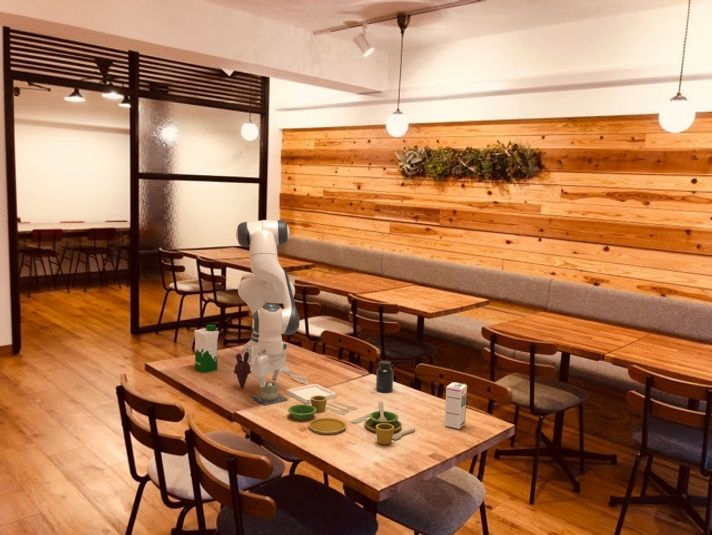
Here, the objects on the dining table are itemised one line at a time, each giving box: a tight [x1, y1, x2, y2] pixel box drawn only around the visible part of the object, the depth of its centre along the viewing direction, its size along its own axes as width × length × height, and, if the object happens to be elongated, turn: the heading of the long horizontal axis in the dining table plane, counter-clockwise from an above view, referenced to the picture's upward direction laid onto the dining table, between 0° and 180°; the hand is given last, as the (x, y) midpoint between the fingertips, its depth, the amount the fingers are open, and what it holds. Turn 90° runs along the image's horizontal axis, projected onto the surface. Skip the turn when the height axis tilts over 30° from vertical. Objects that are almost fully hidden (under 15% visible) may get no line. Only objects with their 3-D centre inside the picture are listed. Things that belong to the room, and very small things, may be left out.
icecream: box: [233, 352, 252, 389], centre depth 239 cm, size 7×7×15 cm
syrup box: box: [444, 382, 468, 430], centre depth 211 cm, size 6×6×14 cm
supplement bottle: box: [375, 360, 394, 394], centre depth 245 cm, size 7×7×12 cm
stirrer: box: [279, 364, 309, 385], centre depth 255 cm, size 20×4×5 cm, turn 41°
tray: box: [286, 383, 338, 405], centre depth 235 cm, size 14×14×2 cm
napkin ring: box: [260, 381, 279, 400], centre depth 229 cm, size 6×6×5 cm
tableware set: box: [287, 395, 416, 445], centre depth 208 cm, size 41×28×6 cm
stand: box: [250, 381, 288, 407], centre depth 229 cm, size 10×10×6 cm
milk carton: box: [193, 323, 220, 374], centre depth 259 cm, size 9×9×20 cm
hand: (269, 383), depth 228 cm, fingers open, 8 cm apart
